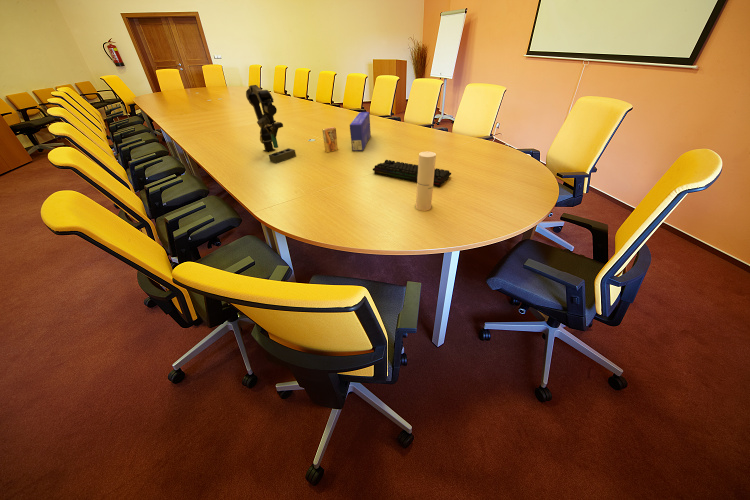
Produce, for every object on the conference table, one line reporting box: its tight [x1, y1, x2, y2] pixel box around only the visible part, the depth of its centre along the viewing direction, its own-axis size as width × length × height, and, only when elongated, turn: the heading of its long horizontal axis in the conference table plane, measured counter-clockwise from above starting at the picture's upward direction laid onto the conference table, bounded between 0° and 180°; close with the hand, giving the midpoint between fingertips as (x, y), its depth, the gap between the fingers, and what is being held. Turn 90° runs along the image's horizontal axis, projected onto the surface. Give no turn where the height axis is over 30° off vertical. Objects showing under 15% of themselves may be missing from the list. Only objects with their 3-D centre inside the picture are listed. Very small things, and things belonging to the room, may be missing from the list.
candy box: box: [322, 126, 339, 153], centre depth 205 cm, size 9×4×15 cm, turn 129°
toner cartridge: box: [349, 111, 372, 152], centre depth 215 cm, size 39×8×18 cm, turn 172°
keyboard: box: [372, 159, 452, 188], centre depth 165 cm, size 42×16×5 cm, turn 58°
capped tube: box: [270, 131, 279, 149], centre depth 195 cm, size 3×3×10 cm
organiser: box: [268, 147, 297, 164], centre depth 197 cm, size 7×17×4 cm, turn 142°
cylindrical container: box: [415, 151, 437, 212], centre depth 129 cm, size 7×7×25 cm
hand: (273, 137), depth 194 cm, fingers closed on capped tube, 3 cm apart
